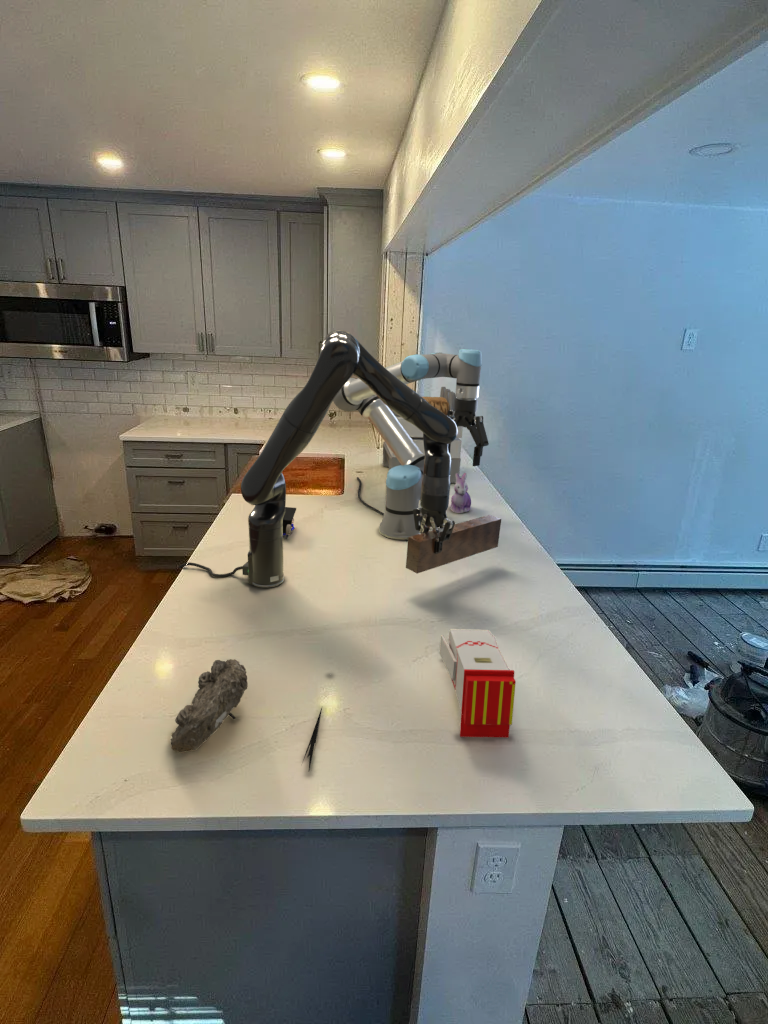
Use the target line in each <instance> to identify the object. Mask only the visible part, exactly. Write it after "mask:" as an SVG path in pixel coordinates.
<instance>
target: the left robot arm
mask: <svg viewBox="0 0 768 1024" xmlns="http://www.w3.org/2000/svg"><path fill="white" fill-rule="evenodd" d="M315 363H316V364H315V365H314V368H313V370H312V372H311V375H310V376H309V378H308V380H307V381H306V384H305V385H304V387H303V388H302V389H301V390H299V392H298V393H297V394H296V395H295V396H294V398H292V400H291V401H290V402H289V403H288V405H287V407H286V408H285V410H284V411H283V413H282V414H281V417H279V420H278V422H277V424H276V425H275V427H274V429H273V431H272V433H271V435H270V436H269V438H268V440H267V441H266V443H265V446H264V447H263V449H262V450H261V452H260V454H259V456H258V457H257V458H256V459H255V461H254V462H253V464H252V465H251V466H250V468H249V469H248V470H247V472H246V473H245V474H244V476H243V478H242V479H241V482H240V493H241V496H242V498H243V500H244V501H245V502H246V503H247V504H249V505H251V506H254V507H253V509H252V510H251V512H250V513H249V515H248V517H247V521H248V522H247V524H248V546H249V547H248V549H249V550H248V552H247V561H246V562H245V563H244V564H243V565H241V566H237V567H235V568H234V569H233V570H232V571H231V572H228V573H214V572H213V570H212V569H211V568H210V567H207V566H205V565H203V564H201V563H195V562H183V563H182V564H180V565H179V566H178V569H182V568H184V567H186V566H188V567H189V566H193V567H196V568H200V569H203V570H205V571H207V572H208V573H209V575H210V576H211V577H214V578H227V577H230V576H233V575H235V574H236V573H237V572H238V571H240V570H241V571H242V576H247V577H248V585H250V586H251V585H252V586H254V587H257V588H262V589H268V588H274V587H278V586H280V585H281V584H283V583H284V581H285V576H284V573H285V572H284V535H283V517H284V514H285V507H287V506H286V505H287V503H286V501H287V484H286V479H285V475H284V474H283V472H284V470H285V469H286V468H287V467H288V466H289V465H290V464H291V463H292V462H293V461H294V460H295V459H296V458H297V457H299V456H300V454H301V453H302V452H303V451H304V450H305V449H306V448H307V447H308V445H309V444H310V443H311V441H312V440H313V438H314V437H315V434H316V433H317V431H318V430H319V429H320V427H321V424H322V423H323V422H324V418H325V417H326V416H327V414H328V411H329V409H330V407H331V405H332V403H333V400H334V398H335V397H336V395H337V394H338V393H339V391H340V390H341V389H342V387H343V386H344V385H345V384H346V382H347V381H348V380H349V379H350V378H352V377H353V376H355V377H356V378H359V379H360V380H362V381H363V382H364V383H365V384H366V385H367V386H368V387H369V388H370V389H371V390H372V391H373V392H374V393H375V394H376V395H377V396H378V397H379V398H380V400H381V401H382V402H383V403H384V404H385V405H386V406H388V407H389V408H390V409H391V410H392V411H393V412H395V413H396V414H397V415H399V416H400V417H402V418H403V419H404V420H406V421H407V422H409V423H411V424H413V425H414V426H416V427H417V428H418V429H420V430H421V431H422V432H423V442H424V452H425V459H424V472H423V478H422V487H421V500H419V505H420V506H419V508H417V509H414V510H413V515H414V522H415V529H416V530H418V531H419V532H420V534H421V533H425V532H428V531H432V530H433V533H434V534H435V540H436V541H435V546H434V553H435V554H438V553H441V552H442V549H443V541H446V540H449V539H450V537H451V534H452V531H453V528H454V525H455V524H456V522H455V521H454V520H450V519H449V518H448V515H447V511H448V508H449V505H450V495H451V494H450V493H451V483H450V471H451V455H450V453H449V451H448V444H450V443H451V442H453V441H454V440H455V438H456V437H457V433H458V429H457V425H456V423H455V422H454V421H453V420H452V419H451V418H450V417H448V416H447V415H445V414H444V413H442V412H441V411H439V410H438V409H436V408H435V407H433V406H432V405H430V404H429V403H428V402H427V401H426V400H425V399H424V398H423V397H424V396H422V395H421V394H419V393H418V392H416V391H415V390H414V389H412V388H411V387H410V386H408V384H404V383H403V382H402V381H400V380H399V379H398V378H397V377H395V376H394V375H393V374H392V373H390V372H389V371H388V370H387V369H386V367H385V366H384V365H383V364H381V363H380V362H379V360H377V359H376V358H375V357H374V356H373V355H372V354H371V353H370V352H369V351H368V349H366V348H365V347H364V346H363V345H362V343H360V341H359V340H358V339H357V338H356V337H355V335H353V334H352V333H351V332H348V331H347V330H344V329H343V330H342V329H336V330H331V331H330V332H328V333H327V334H326V335H325V336H324V338H323V340H322V342H321V346H320V351H319V355H318V358H317V361H316V362H315ZM419 521H420V525H419ZM431 529H432V530H431ZM439 532H440V536H439ZM187 563H188V564H187ZM186 564H187V565H186Z"/></svg>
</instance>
